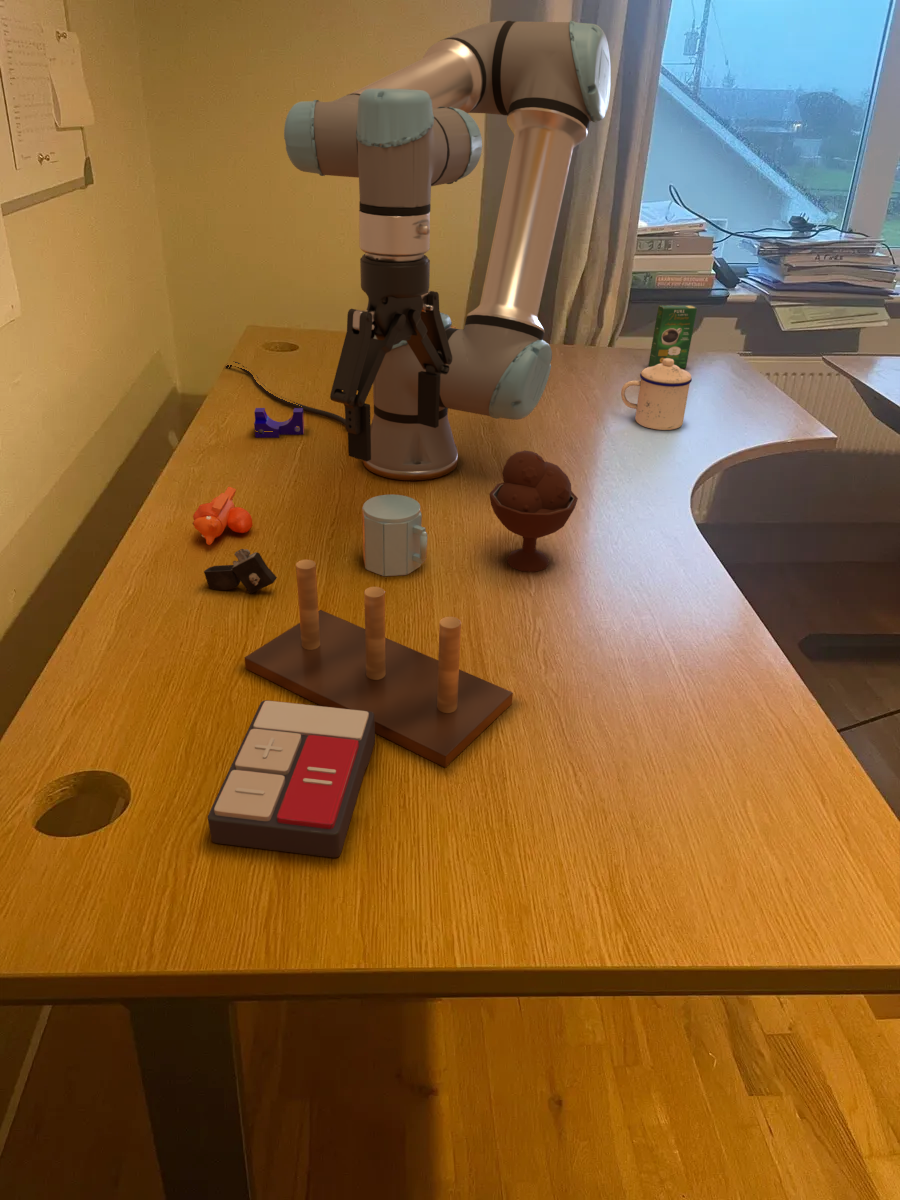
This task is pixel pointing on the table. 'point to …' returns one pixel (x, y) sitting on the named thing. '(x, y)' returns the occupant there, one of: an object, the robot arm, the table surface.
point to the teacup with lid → (660, 396)
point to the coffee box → (672, 334)
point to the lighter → (241, 573)
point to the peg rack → (381, 675)
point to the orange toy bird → (221, 517)
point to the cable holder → (278, 424)
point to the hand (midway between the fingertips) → (395, 440)
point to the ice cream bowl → (532, 505)
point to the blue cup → (393, 535)
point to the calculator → (294, 779)
